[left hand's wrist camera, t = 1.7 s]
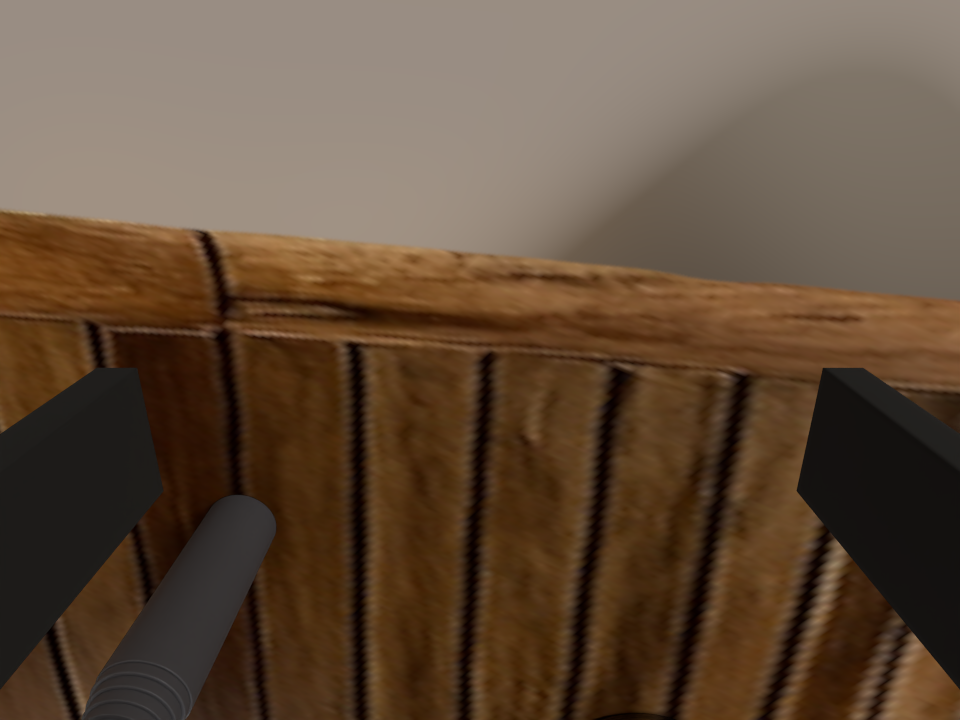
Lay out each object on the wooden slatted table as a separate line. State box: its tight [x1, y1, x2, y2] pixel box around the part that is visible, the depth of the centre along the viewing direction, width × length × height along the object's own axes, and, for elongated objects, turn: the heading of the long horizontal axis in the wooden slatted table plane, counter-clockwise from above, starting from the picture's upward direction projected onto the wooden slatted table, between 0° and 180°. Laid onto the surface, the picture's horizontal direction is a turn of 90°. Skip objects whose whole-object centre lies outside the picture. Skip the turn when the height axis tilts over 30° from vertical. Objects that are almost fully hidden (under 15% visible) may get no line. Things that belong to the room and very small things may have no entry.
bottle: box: [82, 495, 276, 720], centre depth 38 cm, size 5×5×20 cm
